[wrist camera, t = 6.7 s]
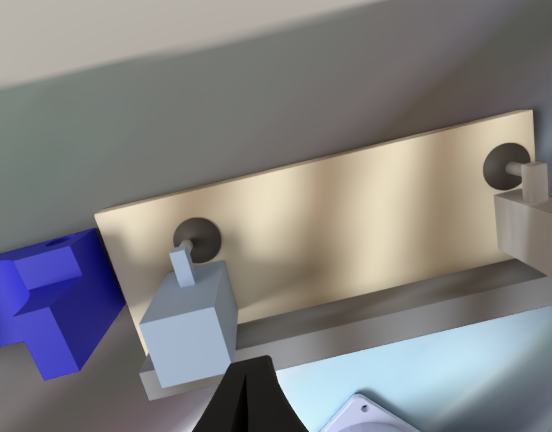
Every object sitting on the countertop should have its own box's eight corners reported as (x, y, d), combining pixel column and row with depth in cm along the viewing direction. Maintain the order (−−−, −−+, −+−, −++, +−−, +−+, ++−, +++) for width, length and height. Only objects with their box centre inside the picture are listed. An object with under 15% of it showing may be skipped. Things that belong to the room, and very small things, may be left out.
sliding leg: (214, 228, 19) (201, 266, 14) (238, 310, 20) (233, 371, 16) (156, 242, 19) (124, 285, 14) (183, 323, 20) (162, 388, 16)
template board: (518, 109, 20) (630, 107, 14) (529, 284, 22) (626, 344, 16) (101, 209, 20) (38, 249, 14) (160, 371, 22) (128, 462, 16)
